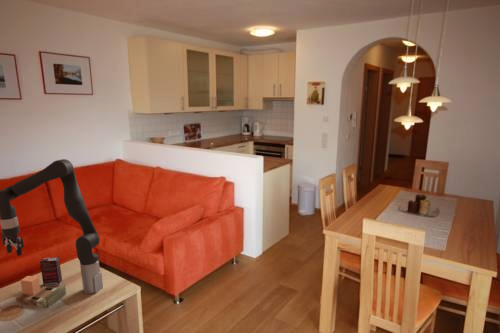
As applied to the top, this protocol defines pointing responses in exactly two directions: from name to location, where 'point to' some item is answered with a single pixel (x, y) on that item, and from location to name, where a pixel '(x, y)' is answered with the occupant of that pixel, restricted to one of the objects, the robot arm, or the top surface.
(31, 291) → the block
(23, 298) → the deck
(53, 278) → the supplement box
